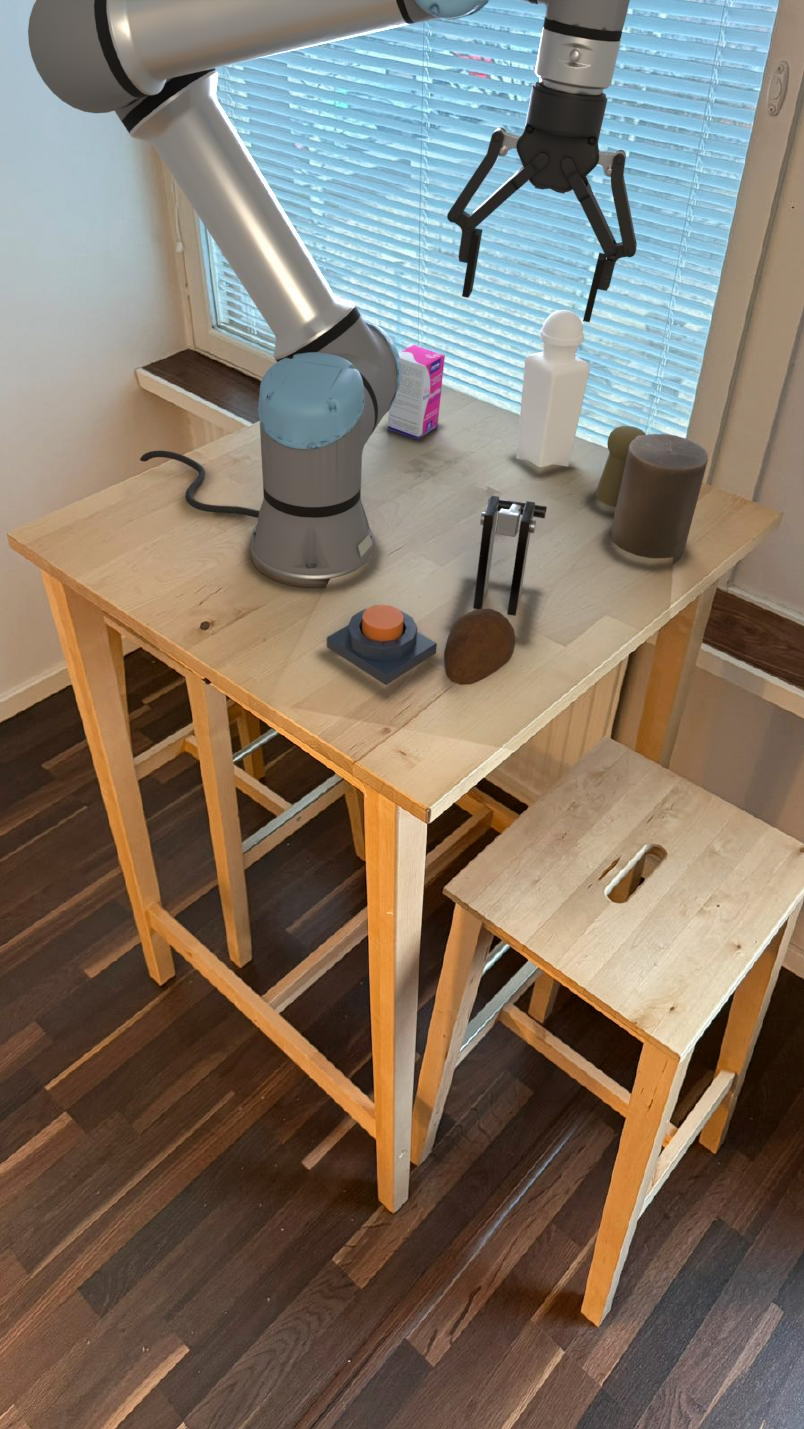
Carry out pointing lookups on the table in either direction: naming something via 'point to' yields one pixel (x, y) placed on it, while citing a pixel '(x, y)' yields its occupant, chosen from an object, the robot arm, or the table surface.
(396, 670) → the button block
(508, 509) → the lever
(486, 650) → the potato
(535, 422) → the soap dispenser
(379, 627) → the button
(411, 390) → the supplement box
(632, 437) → the olive pawn
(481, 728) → the table surface
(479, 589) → the lever bracket
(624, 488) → the pillar candle
